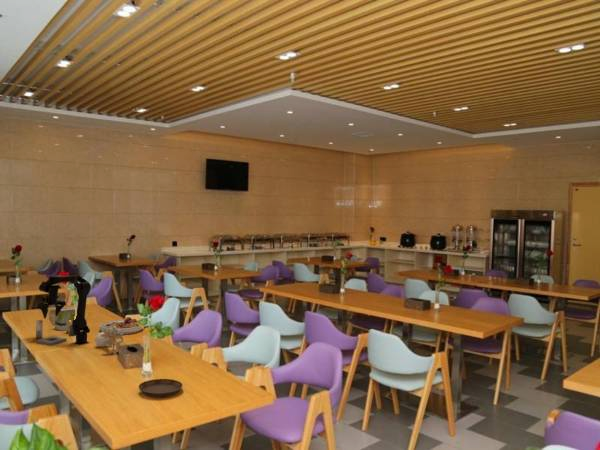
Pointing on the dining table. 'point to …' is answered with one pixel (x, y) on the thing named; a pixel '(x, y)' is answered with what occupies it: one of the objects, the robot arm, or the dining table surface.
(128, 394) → the dining table surface
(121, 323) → the bowl
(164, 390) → the plant saucer
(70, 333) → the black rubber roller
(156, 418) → the dining table surface
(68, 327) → the brass bushing
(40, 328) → the steel roller
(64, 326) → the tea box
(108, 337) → the flower vase
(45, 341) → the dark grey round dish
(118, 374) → the dining table surface
